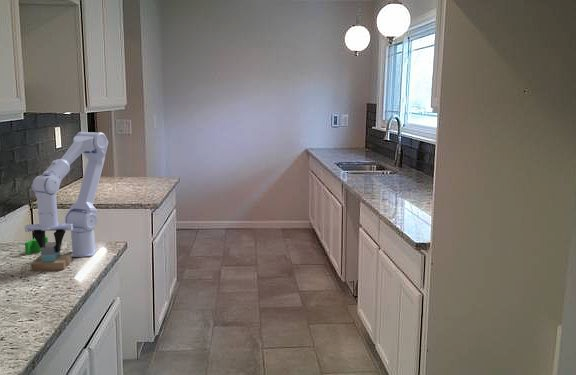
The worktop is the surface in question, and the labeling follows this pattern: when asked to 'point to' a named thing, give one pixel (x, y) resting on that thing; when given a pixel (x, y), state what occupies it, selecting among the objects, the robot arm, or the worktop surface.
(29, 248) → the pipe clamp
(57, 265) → the tan flat block
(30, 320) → the worktop surface
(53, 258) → the block
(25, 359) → the worktop surface
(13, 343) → the worktop surface
